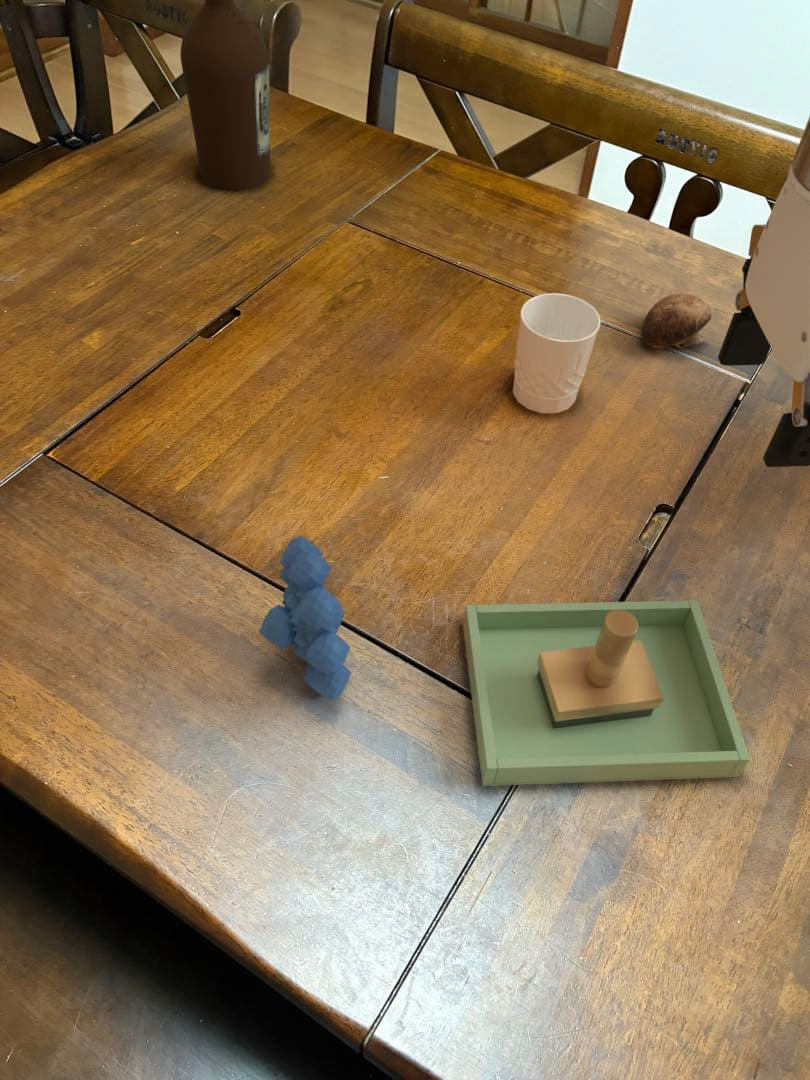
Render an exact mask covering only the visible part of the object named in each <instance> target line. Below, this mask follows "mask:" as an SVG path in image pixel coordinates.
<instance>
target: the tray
mask: <svg viewBox="0 0 810 1080" xmlns="http://www.w3.org/2000/svg"><path fill="white" fill-rule="evenodd" d="M613 610H624V611H627V612H629V613H631V614H632V615H633V616H634V617H635V618H636V620H637V622H638V630H637V633H636V635H635V637H634V640H633V641H641V643H642V645H643V648H644V650H645V653H646V655H647V658H648V660H649V663H650V665H651V668H652V670H653V673H654V675H655V678H656V680H657V683H658V685H659V688H660V690H661V693H662V695H663V698H664V699H663V701H662V703H661V705H660V707H659V708H655V709H654V710H653V712H652V714H651V716H645V717H637V718H630V719H622V720H615V721H607V722H600V723H592V724H585V725H577V726H569V727H562V728H553V725H552V722H551V718H550V715H549V712H548V709H547V705H546V702H545V699H544V695H543V692H542V689H541V686H540V682H539V679H538V676H537V673H538V670H539V667H538V664H537V661H538V658H539V654H540V652H547V651H556V650H564V649H572V648H581V647H589V646H595V644H596V641H597V639H598V636H599V633H600V631H601V628H602V625H603V623H604V620H605V617H606V615H607V614H608V613H609V612H611V611H613ZM462 630H463V631H462V632H463V640H464V647H465V656H466V665H467V672H468V681H469V688H470V696H471V697H470V698H471V704H472V712H473V721H474V728H475V737H476V745H477V753H478V761H479V769H480V778H481V786H482V787H496V786H522V785H524V786H525V785H526V786H527V785H548V784H549V785H550V784H551V785H553V784H578V783H579V784H581V783H605V782H606V783H607V782H634V781H635V782H636V781H637V782H638V781H661V780H662V781H663V780H689V779H717V778H738V777H739V776H740V775H741V773H742V771H743V770H744V769H745V768H746V766H747V765H748V763H749V762H750V761H751V758H750V755H749V752H748V749H747V745H746V742H745V740H744V737H743V733H742V731H741V728H740V725H739V721H738V719H737V716H736V712H735V709H734V707H733V704H732V701H731V698H730V695H729V691H728V689H727V685H726V683H725V679H724V676H723V673H722V671H721V668H720V665H719V662H718V658H717V655H716V652H715V649H714V647H713V643H712V640H711V637H710V634H709V631H708V628H707V625H706V622H705V619H704V616H703V613H702V611H701V607H700V605H699V601H698V600H697V599H696V600H692V599H691V600H649V601H648V600H645V601H600V602H598V601H596V602H592V601H591V602H550V603H546V602H544V603H503V604H502V603H498V604H496V603H494V604H493V603H492V604H466V605H465V609H464V615H463V621H462Z"/></svg>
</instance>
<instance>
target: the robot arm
mask: <svg viewBox="0 0 810 1080" xmlns="http://www.w3.org/2000/svg"><path fill="white" fill-rule="evenodd" d="M808 116H809V117H808V120H807V122H806V124H805V127H804V130H803V131H802V135H801V138H800V140H799V144H798V146H797V149H796V151H795V154H794V156H793V160H792V162H791V165H790V168H789V170H788V175H787V178H786V180H785V181H784V184H783V185H782V188H781V189H780V192H779V194H778V196H777V198H776V200H775V202H774V204H773V207H772V209H771V211H770V214H769V216H768V218H767V221H766V223H765V224H754V225H753V226H752V228H751V233H750V238H749V239H750V240H749V247H748V254H747V255H748V256H749V258H747V259H745V261H744V263H743V265H742V268H741V271H742V278H743V279H742V281H743V282H742V290H740V291H738V292H737V294H736V295H735V300H734V306H735V309H736V311H737V312H734V313H733V314H732V318H731V320H730V323H729V326H728V329H727V331H726V334H725V337H724V340H723V342H722V345H721V348H720V350H719V353H718V356H717V360H718V362H719V364H720V365H722V366H729V367H731V366H761V365H763V364H764V363H765V362H766V360H767V357H768V356H769V353H770V350H772V352H773V353H774V355H775V358H776V359H777V361H778V363H779V365H780V366H781V367H782V369H783V371H784V372H785V373H786V374H787V375H788V377H790V378H791V379H792V398H791V412H786V413H783V414H782V416H781V418H780V420H779V422H778V424H777V426H776V429H775V431H774V432H773V435H772V437H771V439H770V441H769V444H768V446H767V448H766V450H765V452H764V454H763V456H762V461H763V463H764V464H765V467H768V468H785V467H786V468H787V467H810V115H808Z"/></svg>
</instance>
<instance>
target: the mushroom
mask: <svg viewBox="0 0 810 1080" xmlns="http://www.w3.org/2000/svg"><path fill="white" fill-rule="evenodd" d="M711 319H712V311H711V307H710V305H709V304H708V303H706V302H705V301H704V300H703V299H701V298H700V297H699V296H696V295H693V294H689V293H674V294H671V295H668V296H666V297H662V298H661V299H660V300H659V301H657V302H656V303H654V305H653V306H652V307H651V308H650V309H649V310H648V312H647V314H646V316H645V318H644V320H643V325H642V331H641V336H642V337H641V338H642V339H643V341H644V342H645V343H646V344H647V345H648V346H650V347H651V348H653V349H662V350H663V349H666V348H669V347H673V346H675V347H676V348H678V349H682V348H688V347H692V346H696V345H699V344H701V343H704V342H706V339H704V338H703V336H702V335H701V334H700V333H699V332H700V331H701V330H702V329H704V327H706V325H708V323H709V322H710V321H711Z"/></svg>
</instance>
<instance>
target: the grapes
mask: <svg viewBox="0 0 810 1080" xmlns="http://www.w3.org/2000/svg"><path fill="white" fill-rule="evenodd" d="M323 554H324V552H323V551H322V550H321V549H320V548H319V547H318V546H317V545H316V544H314V543H313V542H312V541H311V540H309V539H308V538H306V537H304V536H301V535H298V536H296V537H295V538H293V539H291V540H290V541H289V542H288V544H287V546H286V547H285V549H284V551H283V554H282V556H281V559H280V561H279V563H280V564H281V565H282V566H283V568H282V571H281V573H280V576H279V579H280V580H282V581H283V582H284V583H285V585H287V586H286V588H285V589H284V592H283V594H282V598H283V599H282V602H281V604H283V606H282V605H280V604H278V605H276V606H273V607H272V608H270V609H269V611H268V612H267V614H266V615H265V617H264V619H263V621H262V624H261V626H260V630H259V631H258V632H259V634H260V635H261V636H263V637H264V638H265V639H266V640H267V641H268V642H269V643H270V644H271V645H274V646H276V647H278V648H280V649H283V650H284V649H287V648H289V647H290V646H292V645H293V646H294V649H293V653H294V654H295V655H296V656H297V657H298V658H300V659H302V660H303V661H304V662H305V663H306V668H307V669H306V672H305V674H304V677H303V681H304V683H306V685H308V686H309V687H310V688H311V689H312V690H314V691H315V692H316V693H318V694H319V695H320V696H322V697H324V698H326V699H328V700H331V701H333V700H337V699H338V698H340V696H341V695H342V694H343V693H344V691H345V689H346V688H347V685H348V682H349V679H350V677H351V674H352V672H351V670H349V668H347V667H346V666H345V665H344V664H345V663H346V659H347V657H348V654H349V652H350V649H351V646H350V645H349V644H348V643H347V642H346V641H345V640H344V639H343V638H342V637H340V636H339V635H338V634H337V633H338V631H339V629H340V627H341V624H342V622H343V620H344V617H345V614H346V611H345V610H344V608H343V603H342V602H341V601H340V600H339V599H338V598H337V597H336V596H335V595H334V594H332V592H330V591H328V590H327V589H326V586H325V585H324V584H325V583H326V581H327V579H328V576H329V573H330V571H331V570H332V566H331V564H330V563H329V562H328V561H327V560H326V559H324V557H323Z"/></svg>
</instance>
